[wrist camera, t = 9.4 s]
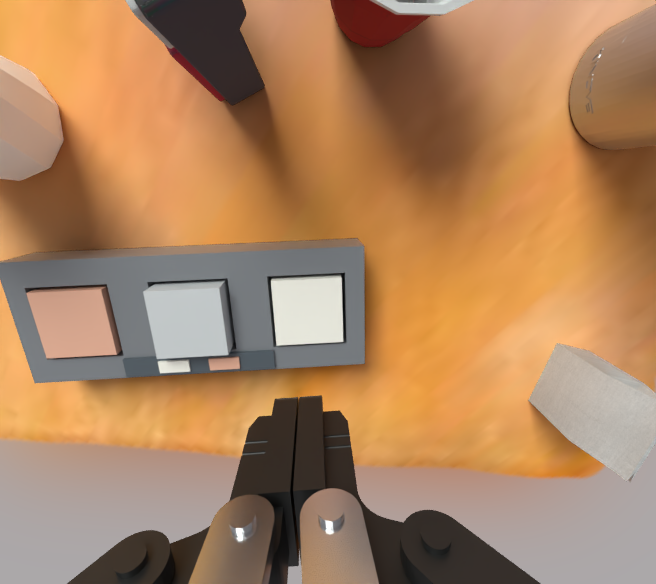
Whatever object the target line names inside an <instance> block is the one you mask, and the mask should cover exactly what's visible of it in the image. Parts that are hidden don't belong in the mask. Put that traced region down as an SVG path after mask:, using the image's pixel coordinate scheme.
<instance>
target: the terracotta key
mask: <svg viewBox="0 0 656 584" xmlns="http://www.w3.org/2000/svg"><path fill="white" fill-rule="evenodd" d="M26 294H27V297H28V301H29V304H30V307H31V310H32V313H33V317H34V320H35V323H36V326H37V329H38V333H39V336H40V339H41V342H42V345H43V348H44V352H45V355H46V358H65V357H83V356H101V355H117V354H118V353H119V352H120V351H122V346H121V342H120V338H119V334H118V329H117V325H116V321H115V317H114V313H113V308H112V304H111V300H110V296H109V292H108V287H107V284H99V285H78V286H58V287H41V288H38V289H36V290H33V291H30V292H28V293H26Z"/></svg>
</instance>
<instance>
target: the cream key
mask: <svg viewBox="0 0 656 584" xmlns="http://www.w3.org/2000/svg"><path fill="white" fill-rule="evenodd" d="M271 289H272V300H273V311H274V322H275V333H276V345H277V346H279V345H297V344H314V343H332V342H343V311H342V277H341V274H340V273H329V274H308V275H287V276H273V277H272V279H271Z"/></svg>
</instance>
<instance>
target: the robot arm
mask: <svg viewBox="0 0 656 584" xmlns="http://www.w3.org/2000/svg"><path fill="white" fill-rule="evenodd" d="M569 104H570V111H571V117H572V120H573V122H574V125H575V127H576V129H577V130H578V132H579V133H580V135H581V136H582V137H583V138H584V139H585V140H586V141H587V142H588V143H590V144H592V145H594V146H596V147H598V148H602V149H607V150H621V149H630V148H639V147H648V146H656V4H655V5H653V6H651V7H649V8H647V9H645V10H643V11H641V12H639V13H637V14H635V15H634V16H632V17H630V18H628V19H626V20H624V21H622V22H620V23H618V24H616V25H615V26H613V27H611V28H609V29H608V30H607V31H605V32H604V33H603V34H601V35H600V36H599V37H598V38H597V39H596V40H595V41H594V42H593V43H592V44H591V45H590V47H589V48H588V49H587V50H586V52H585V54H584V55H583V57H582V58H581V60H580V61H579V64H578V66H577V68H576V71H575V73H574V76H573V80H572V84H571V88H570V101H569ZM299 549H300V558H301V565H302V584H540V583H539V582H538V581H536V580H535V579H534V578H532V577H531V576H530V575H528V574H527V573H526V572H524V571H523V570H522V569H520V568H519V567H518V566H516V565H515V564H514V563H512V562H511V561H509V560H508V559H507V558H505V557H504V556H503V555H501V554H500V553H499V552H497V551H496V550H495V549H493V548H492V547H491V546H489V545H488V544H486V543H485V542H484V541H483V540H481V539H480V538H479V537H477V536H476V535H475V534H473V533H472V532H471V531H469V530H468V529H466V528H465V527H464V526H463V525H461V524H460V523H458V522H457V521H456V520H455V519H453V518H451V517H450V516H448V515H446V514H444V513H441V512H438V511H433V510H422V511H418V512H415V513H413V514H411V515H410V516H409V517H408V518H407V519H406V520H405V521H404V523H402V522H398V521H394V520H390V519H386V518H383V517H380V516H378V515H376V514H375V513H373V512H371V511H370V510H369V509H368V508H367V507H366V506H365V505H364V504H363V502H362V501H361V499H360V497H359V495H358V491H357V485H356V478H355V470H354V463H353V456H352V449H351V442H350V436H349V428H348V421H347V420H346V418H345V417H344V416H343V415H342V413H341V412H340V411H328V412H323V402H322V396H308V397H300V398H299V399H298V397H295V398H281V399H275V401H274V407H273V412H272V416H260V417H258V418H257V419H256V420H255V422H254V423H253V424H252V425H251V427H250V428H249V430H248V434H247V438H246V441H245V445H244V449H243V453H242V456H241V460H240V464H239V468H238V471H237V475H236V479H235V483H234V486H233V490H232V494H231V498H230V501H229V502H228V503H226V504H225V505H224V506H223V507H222V508H221V509H220V510H219V511H218V512H217V514H216V515H215V517H214V519H213V521H212V523H211V526H209V527H208V528H206V529H205V530H203V531H201V532H199V533H197V534H194V535H192V536H189V537H186V538H184V539H181V540H179V541H176V542H173V543H171V544H170V543H169V540H168V538H167V537H166V536H165V535H164V534H163V533H161V532H158V531H154V530H148V531H142V532H139V533H135V534H133V535H131V536H129V537H127V538H125V539H124V540H122V541H121V542H119V543H118V544H117V545H115V546H114V547H113V548H111V549H110V550H109V551H108V552H106V553H105V554H104V555H103V556H101V557H100V558H99V559H98V560H96V561H95V562H94V563H93V564H91V565H90V566H89V567H88V568H86V569H85V570H84V571H83V572H81V573H80V574H79V575H77V576H76V577H75V578H74V579H72V580H71V581H70V582H69V583H68V584H287V578H288V567H289V566H298V565H299Z"/></svg>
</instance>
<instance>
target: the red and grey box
mask: <svg viewBox="0 0 656 584" xmlns="http://www.w3.org/2000/svg"><path fill="white" fill-rule="evenodd" d="M126 2H127V4H128V5H129V7H130V9H131V10H132V12H133V13H134V14H135V16H136V17H137V18H138V19H139V20H140V21H141V22H142V23H144V24H145V25H146V26H147V27H148V28H149V29H150V30H151V31H152V32H153V33H154V34H155V35H156V36H157V37H158V38H159V39H160V40H161V41H162V42H163V43H164V44H165V46H166V48H167V49H168V51H169V53H170V54H171V55H172V57H173V58H174V59H175V60H176V61H177V62H178V63H180V64H181V65H182V66H183V67H184V68H185V69H186V70H187V71H188V72H189V73H190V74H191V75H192V76H193V77H195V78H196V79H197V80H198V81H199V82H200V83H201V84H202V85H203V86H204V87H205V88H206V89H207V90H209V91H210V92H211V93H212V94H213V95H214V96H215V97H216V98H217V99H218V100H219V101H223V100H225V99H226V100H227V101H228V102H229V103H230V104H231V105H234V104H236V103H238V102H240V101H241V100H243V99H245V98H247V97H249V96H250V95H252V94H254V93H256V92H258V91H259V90H261V89H263V88H264V86H265V85H264V83H263V81H262V78H261V76H260V74H259V72H258V69H257V67H256V65H255V63H254V61H253V58H252V56H251V54H250V52H249V49H248V47H247V45H246V43H245V41H244V38H243V36H242V34H241V32H240V27H241V25H242V23H243V21H244V19H245V17H246V10H245V7H244V4H243V1H242V0H126Z"/></svg>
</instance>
